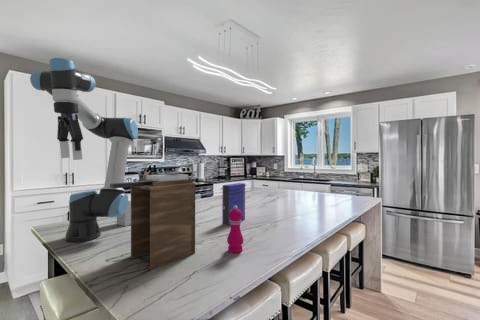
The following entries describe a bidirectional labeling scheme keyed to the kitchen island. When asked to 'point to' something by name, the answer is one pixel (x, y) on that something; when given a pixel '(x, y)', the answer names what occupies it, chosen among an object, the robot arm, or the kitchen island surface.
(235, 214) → the pepper mill
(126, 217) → the supplement box
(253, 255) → the kitchen island surface
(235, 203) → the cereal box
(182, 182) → the stand
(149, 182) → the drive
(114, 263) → the kitchen island surface
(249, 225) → the kitchen island surface
